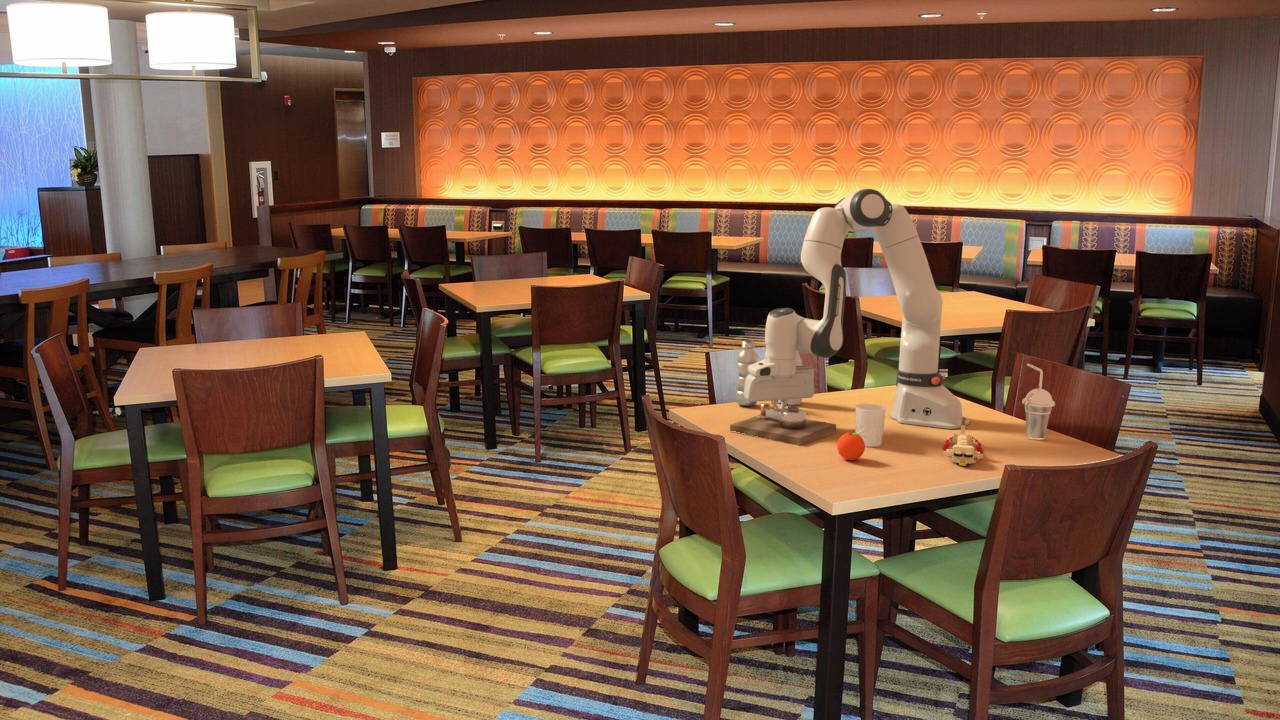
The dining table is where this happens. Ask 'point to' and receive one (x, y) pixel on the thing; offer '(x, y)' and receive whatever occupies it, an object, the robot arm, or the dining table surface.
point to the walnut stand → (783, 430)
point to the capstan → (786, 415)
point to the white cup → (870, 423)
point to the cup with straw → (1037, 409)
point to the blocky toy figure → (962, 447)
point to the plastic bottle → (745, 370)
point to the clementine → (851, 446)
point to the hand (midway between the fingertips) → (778, 414)
